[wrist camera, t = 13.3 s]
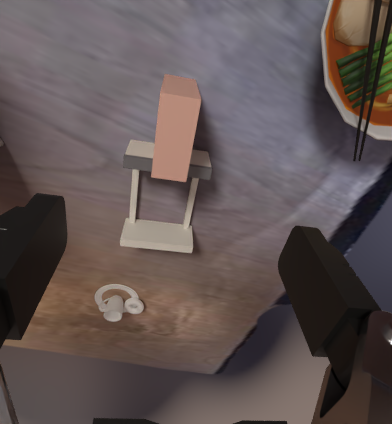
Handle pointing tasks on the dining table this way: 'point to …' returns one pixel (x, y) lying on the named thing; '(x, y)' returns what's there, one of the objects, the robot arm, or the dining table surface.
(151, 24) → the dining table surface
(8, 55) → the dining table surface
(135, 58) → the dining table surface
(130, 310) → the white pacifier
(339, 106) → the ramen bowl
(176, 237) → the stand
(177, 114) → the pink rectangular block
